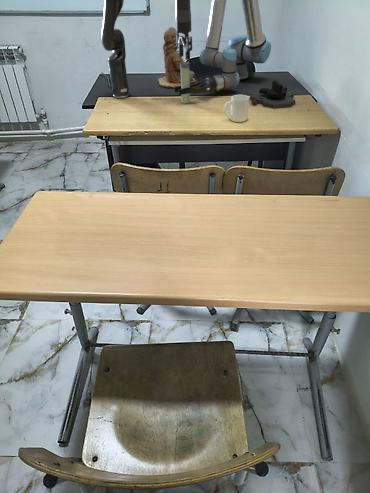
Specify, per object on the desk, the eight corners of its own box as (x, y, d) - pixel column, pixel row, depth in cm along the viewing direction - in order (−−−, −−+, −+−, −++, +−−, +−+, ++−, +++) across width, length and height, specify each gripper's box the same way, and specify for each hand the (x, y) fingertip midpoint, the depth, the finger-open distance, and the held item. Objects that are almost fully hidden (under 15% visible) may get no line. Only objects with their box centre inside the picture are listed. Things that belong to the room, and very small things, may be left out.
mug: (224, 123, 170) (225, 101, 163) (221, 117, 176) (221, 95, 170) (249, 121, 171) (251, 99, 165) (244, 115, 177) (246, 93, 171)
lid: (178, 66, 185) (178, 62, 184) (187, 65, 187) (187, 61, 186) (182, 68, 182) (182, 64, 180) (191, 67, 183) (191, 63, 182)
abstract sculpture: (259, 90, 177) (247, 79, 193) (257, 109, 183) (245, 97, 198) (307, 86, 180) (291, 76, 195) (303, 105, 186) (288, 93, 201)
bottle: (180, 101, 197) (179, 63, 184) (187, 100, 198) (187, 62, 186) (183, 104, 193) (182, 65, 181) (191, 102, 195) (190, 64, 182)
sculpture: (197, 88, 213) (196, 30, 194) (156, 89, 214) (152, 31, 194) (196, 75, 234) (196, 22, 215) (159, 76, 235) (156, 23, 215)
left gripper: (170, 19, 175) (172, 56, 185) (182, 23, 165) (183, 62, 175) (184, 17, 177) (185, 54, 188) (196, 21, 167) (197, 60, 178)
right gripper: (222, 94, 194) (184, 103, 186) (205, 86, 206) (169, 94, 198) (222, 80, 189) (184, 87, 181) (205, 72, 201) (168, 79, 193)
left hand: (184, 58), depth 181 cm, fingers open, 7 cm apart
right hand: (176, 91), depth 189 cm, fingers closed on bottle, 5 cm apart
